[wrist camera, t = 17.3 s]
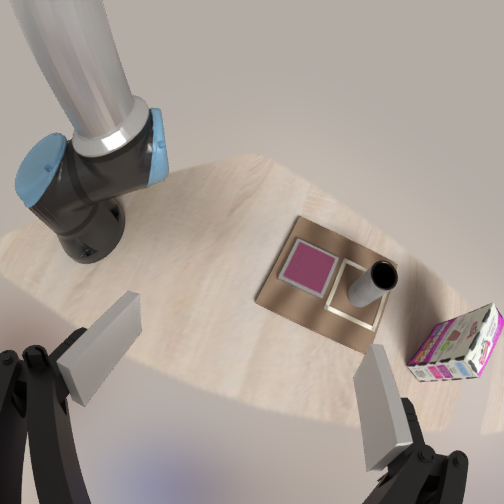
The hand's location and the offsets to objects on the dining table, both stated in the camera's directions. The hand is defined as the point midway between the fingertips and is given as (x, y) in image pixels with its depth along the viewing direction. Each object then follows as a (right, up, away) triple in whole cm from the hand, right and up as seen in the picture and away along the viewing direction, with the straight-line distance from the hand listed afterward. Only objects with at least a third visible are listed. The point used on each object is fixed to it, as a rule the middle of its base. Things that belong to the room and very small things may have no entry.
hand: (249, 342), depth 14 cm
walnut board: (+14, -1, +32) cm, 35 cm away
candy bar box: (+33, -14, +27) cm, 45 cm away
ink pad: (+10, +2, +32) cm, 34 cm away
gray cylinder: (+19, -3, +31) cm, 36 cm away
